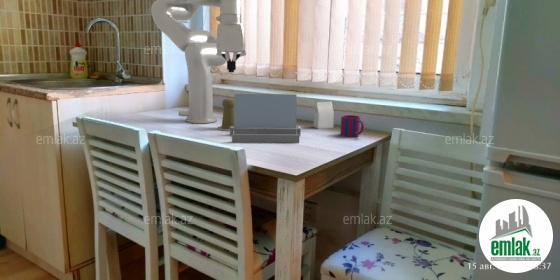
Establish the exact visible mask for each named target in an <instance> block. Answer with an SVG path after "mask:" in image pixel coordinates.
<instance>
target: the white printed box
mask: <svg viewBox="0 0 560 280" xmlns="http://www.w3.org/2000/svg"><path fill="white" fill-rule="evenodd" d="M333 107H334V106H333V101H317V102H316V105H315V107H314V111H313V128H316V129H317V130H320V129H331V128H332V129H333V128H334V122H335V121H334V120H335V118H334V117H335V112H334V108H333Z"/></svg>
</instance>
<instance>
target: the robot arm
mask: <svg viewBox="0 0 560 280" xmlns="http://www.w3.org/2000/svg"><path fill="white" fill-rule="evenodd" d="M201 6H205V7H214V8H215V7H217V8H219V16H216V17H215V21H218V22H219V23H218V24H217V28H216V29H217V30H216V36H215V35H214V34H213V33H211V32H210V31H208V30H205V29H193V28H192V29H191V28H189V27H188V26H186V25H185V23H183V21H184V22H186V21H189V20H191V19H192V18H193V17H194V15H195V14H196V13H197V11H198V10H199V8H200V7H201ZM150 8H151V10H150V11H151V17H152V19H153V22H154V23H155V26H156V27H157V28H158V29H159V31H161V32H162V33H163V34H164V35H165V36H166V37H168V38H169V40H170V41H171V42H172V43H173V44H174V45H175V46H176V47H177V48H178V49H179V50H180V51H181V52H183V53H184V57H185V63H186V67H187V76H188V77H187V79H188V80H187V81H188V105H189V107H188V109H189V110H186V111H183V110H179V111H178V116H179V117H186V118H185V121H186V123H189V124H212V123H215V122H217V121H218V117H216V116H214V106H213V105H214V104H213V103H214V99H213V95H214V94H213V76H212V74H211V71H210V69H208V68H209V67H213V68H214V67H221V66H224V65H225V64H226V70H227V71H228V73H235V71H237V70H236V69H237V65H236V64H237V63H236V61H237V60H238V59H240V57H245V56H246V55H247V52H246V33H245V27H244V24H243V23H242V0H155V1H154V2H153V3H152V4H151V7H150ZM230 53H233V54H232V59H231V56H230Z"/></svg>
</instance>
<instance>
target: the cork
mask: <svg viewBox="0 0 560 280" xmlns="http://www.w3.org/2000/svg"><path fill="white" fill-rule="evenodd" d="M222 107H223V111H222V113H223V114H222V118H221V119H222V120H221V126H222V128H223V129H230V126H234V98H224V99H222Z"/></svg>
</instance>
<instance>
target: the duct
mask: <svg viewBox="0 0 560 280" xmlns="http://www.w3.org/2000/svg"><path fill="white" fill-rule="evenodd" d="M301 130H302V129H301V126H296V128H234V126H230V131H229V135H230V136H231V143H264V144H265V143H271V144H272V143H273V144H274V143H276V144H278V143H284V144H285V143H286V144H287V143H289V144H292V143H293V144H294V143H295V144H296V143H297V144H299V143H300V137H301V134H302V133H301Z"/></svg>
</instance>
